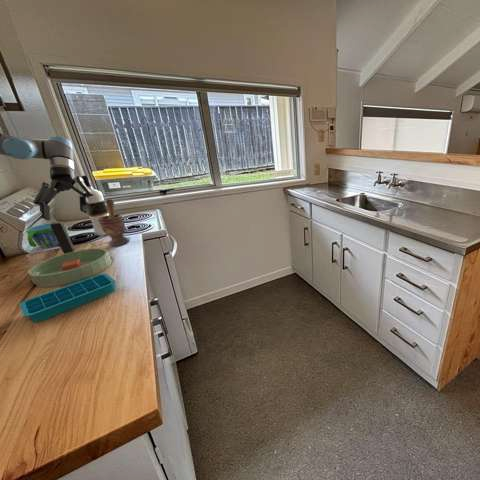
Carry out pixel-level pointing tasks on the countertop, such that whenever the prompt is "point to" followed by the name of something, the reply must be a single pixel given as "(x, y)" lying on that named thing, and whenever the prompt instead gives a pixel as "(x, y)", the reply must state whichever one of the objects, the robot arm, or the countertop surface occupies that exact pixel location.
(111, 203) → the mortar and pestle
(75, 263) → the block
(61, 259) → the bowl
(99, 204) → the vodka
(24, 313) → the ice cube tray
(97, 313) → the countertop surface
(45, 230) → the green blue printed package
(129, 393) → the countertop surface
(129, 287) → the countertop surface
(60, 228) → the dark grey bar
